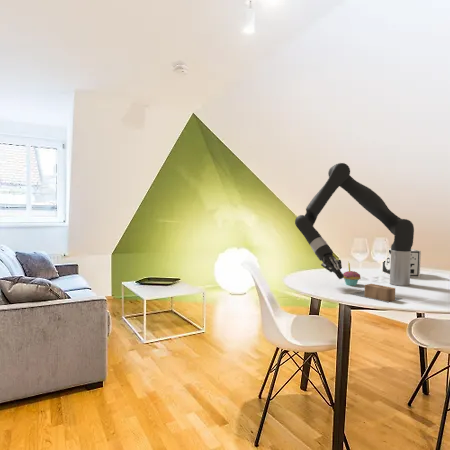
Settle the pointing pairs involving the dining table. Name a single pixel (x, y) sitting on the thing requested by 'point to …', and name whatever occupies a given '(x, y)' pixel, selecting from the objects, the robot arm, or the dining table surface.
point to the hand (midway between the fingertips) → (341, 278)
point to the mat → (371, 298)
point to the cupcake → (351, 277)
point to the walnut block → (380, 292)
